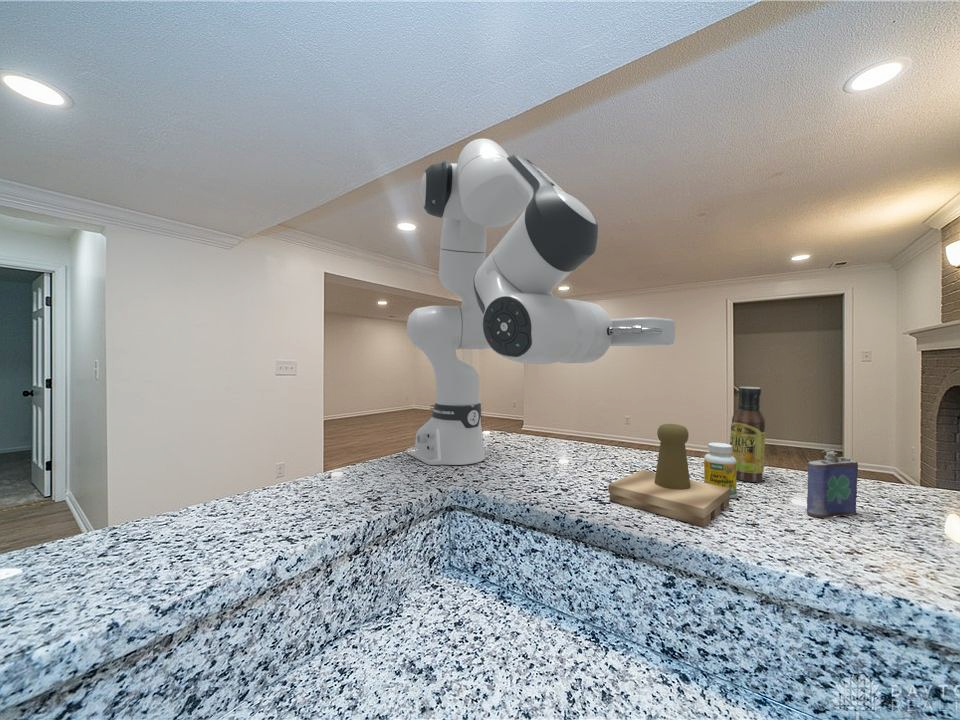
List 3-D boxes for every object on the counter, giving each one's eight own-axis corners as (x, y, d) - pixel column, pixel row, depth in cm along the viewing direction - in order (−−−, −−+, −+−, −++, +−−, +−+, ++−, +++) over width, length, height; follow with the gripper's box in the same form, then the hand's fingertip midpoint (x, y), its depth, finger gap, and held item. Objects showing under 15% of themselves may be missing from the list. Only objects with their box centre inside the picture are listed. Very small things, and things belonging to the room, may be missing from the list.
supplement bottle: (732, 491, 80) (733, 442, 80) (739, 500, 75) (739, 448, 75) (701, 488, 82) (702, 440, 82) (706, 497, 77) (706, 446, 77)
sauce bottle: (722, 476, 90) (724, 386, 89) (740, 473, 92) (741, 385, 92) (752, 485, 84) (754, 388, 84) (771, 481, 87) (772, 387, 86)
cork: (697, 489, 72) (697, 427, 72) (662, 489, 72) (663, 427, 72) (681, 479, 78) (681, 421, 78) (649, 479, 78) (649, 421, 78)
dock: (608, 501, 75) (608, 484, 75) (642, 484, 84) (642, 469, 84) (703, 528, 63) (703, 508, 63) (729, 504, 73) (730, 488, 73)
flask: (817, 519, 67) (818, 453, 67) (799, 512, 70) (800, 449, 69) (861, 515, 69) (862, 451, 68) (842, 508, 71) (843, 447, 71)
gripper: (652, 303, 51) (691, 312, 60) (524, 314, 65) (573, 320, 75) (651, 354, 51) (691, 354, 60) (524, 354, 65) (572, 354, 75)
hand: (624, 335), depth 68 cm, fingers open, 8 cm apart
